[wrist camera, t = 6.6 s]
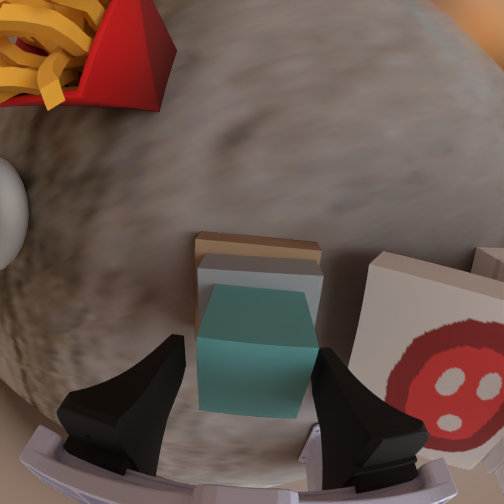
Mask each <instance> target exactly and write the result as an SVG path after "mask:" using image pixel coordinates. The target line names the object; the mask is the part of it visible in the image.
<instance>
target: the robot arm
mask: <svg viewBox="0 0 504 504" xmlns="http://www.w3.org/2000/svg"><path fill="white" fill-rule="evenodd" d="M185 367H186V360H185V345H184V336H183V335H176V334H172V335H170V336H169V337H168V338H167V339H166V340H165V341H164V342H163V343H162V344H161V345H159V346H158V347H157V348H156V349H155V350H154V351H153V352H151V353H150V354H149V355H148V356H147V357H145V358H144V359H143V360H141V361H140V362H139V363H137V364H136V365H135V366H133V367H132V368H130V369H129V370H127V371H125V372H124V373H122V374H120V375H118V376H116V377H114V378H112V379H110V380H108V381H105V382H103V383H100V384H98V385H95V386H92V387H89V388H85V389H81V390H77V391H73V392H70V393H69V394H68V395H67V396H66V398H65V399H64V401H63V402H62V404H61V405H60V407H59V409H58V410H57V416H58V418H59V420H60V422H61V424H62V425H63V427H64V428H65V430H66V431H67V433H68V434H69V437H68V438H67V440H66V442H65V441H64V440H63V438H62V437H61V436H59V435H58V434H57V433H55V432H53V431H51V430H49V429H47V428H46V427H44V426H42V425H39V426H38V428H37V429H36V431H35V432H34V434H33V436H32V437H31V439H30V440H29V442H28V444H27V445H26V447H25V449H24V450H23V452H22V453H21V455H20V457H19V460H20V461H21V462H22V463H23V464H24V465H25V466H26V467H27V468H28V469H30V471H32V472H33V473H34V474H35V475H36V476H37V477H38V478H39V479H40V480H41V481H43V482H44V483H45V484H47V485H49V486H51V487H52V488H54V489H56V490H57V491H59V492H61V493H63V494H64V495H66V496H68V497H70V498H72V499H74V500H75V501H77V502H79V503H81V504H444V503H445V502H447V501H448V500H450V499H451V498H453V497H454V496H455V495H457V493H458V491H457V489H456V486H455V484H454V481H453V478H452V476H451V474H450V471H449V469H448V466H447V464H446V461H445V459H444V458H440V459H437V460H434V461H431V462H428V463H426V464H424V465H422V466H421V467H420V468H418V469H416V466H415V462H417V458H416V454H417V453H418V452H419V451H420V450H421V449H422V447H423V446H424V445H425V444H426V443H427V441H428V439H429V433H428V431H427V428H426V426H425V424H424V422H423V421H422V420H420V419H417V418H415V417H412V416H410V415H408V414H405V413H403V412H402V411H400V410H398V409H396V408H394V407H392V406H391V405H389V404H388V403H386V402H385V401H383V400H382V399H380V398H379V397H377V396H376V395H375V394H374V393H372V392H371V391H370V390H369V389H368V388H367V387H365V386H364V385H363V384H362V383H361V382H360V381H359V380H358V379H357V378H356V377H355V376H354V375H353V374H352V372H351V371H350V370H349V369H348V368H347V367H346V366H345V364H344V363H343V362H342V361H341V360H340V358H339V357H338V356H337V355H336V354H335V352H334V351H333V350H332V349H331V348H319V351H318V354H317V358H316V361H315V365H314V368H313V371H312V375H311V383H312V394H313V399H314V403H315V408H316V413H317V417H318V422H319V424H316V425H315V426H314V427H313V429H312V431H311V433H310V436H309V438H308V440H307V442H306V444H305V446H304V448H303V450H302V452H301V454H300V456H299V458H298V462H301V463H302V462H305V463H306V474H307V485H308V492H295V491H292V490H289V489H278V488H276V489H275V488H274V489H273V488H248V487H235V486H224V485H213V484H204V485H198V486H195V485H190V484H184V483H179V482H174V481H170V480H165V479H161V478H157V477H156V471H157V465H158V459H159V454H160V449H161V444H162V440H163V435H164V431H165V427H166V423H167V419H168V416H169V413H170V411H171V408H172V406H173V403H174V401H175V398H176V396H177V393H178V391H179V388H180V385H181V383H182V379H183V375H184V371H185Z"/></svg>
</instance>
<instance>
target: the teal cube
mask: <svg viewBox="0 0 504 504" xmlns="http://www.w3.org/2000/svg"><path fill="white" fill-rule="evenodd" d="M196 339H197V373H198V395H199V410H203V411H210V412H217V413H225V414H234V415H244V416H256V417H272V418H296V417H297V414H298V411H299V409H300V406H301V403H302V400H303V397H304V394H305V391H306V388H307V386H308V383H309V379H310V376H311V373H312V370H313V367H314V364H315V361H316V357H317V354H318V351H319V345H318V341H317V337H316V333H315V329H314V326H313V322H312V318H311V314H310V311H309V307H308V303H307V300H306V296H305V293H304V292H296V291H285V290H274V289H263V288H253V287H244V286H234V285H225V284H216V283H215V286H214V289H213V292H212V295H211V297H210V300H209V303H208V306H207V308H206V311H205V314H204V317H203V320H202V322H201V325H200V328H199V331H198V334H197V337H196Z"/></svg>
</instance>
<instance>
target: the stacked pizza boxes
mask: <svg viewBox="0 0 504 504" xmlns="http://www.w3.org/2000/svg"><path fill="white" fill-rule="evenodd" d="M348 369H349V370H350V371H351V372H352V374H353V375H354V376H355V377H356V378H357V379H358V380H359V381H360V382H361V383H362V384H363V385H364V386H365V387H367V388H368V389H369V390H370V391H371V392H372V393H374V394H375V395H376V396H377V397H379V398H380V399H382V400H383V401H385V402H386V403H388V404H389V405H391V406H392V407H394V408H396V409H398V410H400V411H402V412H403V413H405V414H408V415H410V416H412V417H415V418H417V419H420V420H422V421H423V422H424V424H425V426H426V428H427V431H428V433H429V439H428V441H427V443H426V444H425V445H424V446H423V447H422V449H421V450H420V451H419V452H418V453H417V454H416V455H418V456H421V457H424V458H427V459H430V460H437V459H440V458H444V459H445V461H446V464H448V465H452V466H456V467H460V468H464V469H468V470H471V469H472V468H473V467H474V466H475V465H476V464H477V463H478V462H480V461H481V460H482V462H483V464H484V466H485V468H486V471H487V473H488V474H489V473H490V472H492V471H493V470H495V469H497V468H498V467H500V466H501V465H502V466H501V467H500V468H499V469H498V470H497V471H496V472H495V475H496V478H497V480H498V482H499V484H500V487H501V490H502V492H503V494H504V248H489V247H476V251H475V256H474V260H473V265H472V269H471V273H468V272H465V271H461V270H457V269H453V268H449V267H446V266H442V265H438V264H434V263H430V262H426V261H422V260H418V259H414V258H410V257H406V256H402V255H398V254H394V253H389V252H385V251H383V252H382V253H381V254H380V255H379V256H378V257H376V258H375V259H374V260H373V261H372V262H371V263H370V264H369V269H368V276H367V282H366V288H365V293H364V299H363V304H362V309H361V314H360V319H359V324H358V328H357V333H356V337H355V341H354V345H353V350H352V354H351V357H350V361H349V365H348Z"/></svg>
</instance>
